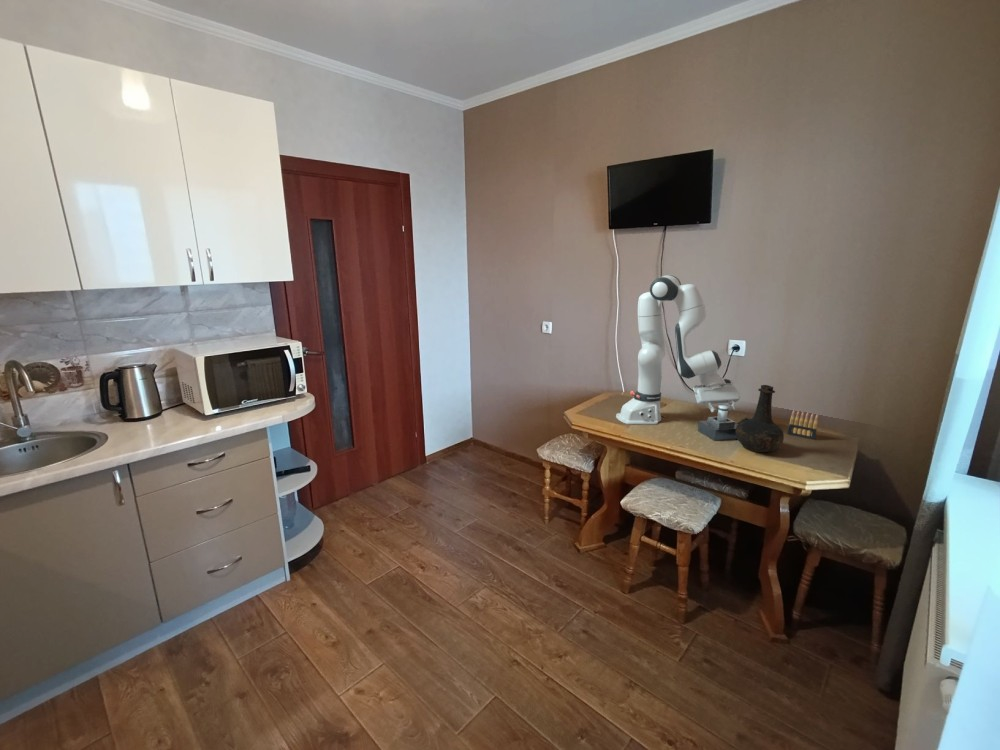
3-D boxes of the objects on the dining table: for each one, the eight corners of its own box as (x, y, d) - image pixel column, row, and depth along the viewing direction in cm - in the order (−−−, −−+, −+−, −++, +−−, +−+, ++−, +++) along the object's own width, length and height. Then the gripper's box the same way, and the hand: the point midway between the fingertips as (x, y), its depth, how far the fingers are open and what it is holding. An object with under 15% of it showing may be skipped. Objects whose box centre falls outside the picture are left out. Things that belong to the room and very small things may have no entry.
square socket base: (714, 440, 195) (716, 425, 193) (697, 430, 207) (699, 416, 205) (742, 438, 198) (744, 422, 196) (724, 428, 209) (726, 414, 207)
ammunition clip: (787, 434, 202) (791, 409, 199) (787, 433, 204) (792, 408, 201) (815, 440, 195) (819, 414, 192) (815, 438, 197) (820, 413, 194)
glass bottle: (742, 436, 200) (750, 377, 193) (787, 448, 187) (797, 385, 180) (726, 447, 188) (735, 385, 181) (773, 461, 175) (784, 394, 168)
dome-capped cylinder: (720, 426, 199) (722, 407, 196) (714, 423, 203) (716, 404, 200) (728, 425, 199) (730, 407, 197) (722, 422, 203) (724, 404, 201)
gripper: (695, 382, 201) (706, 409, 194) (735, 380, 205) (747, 406, 198) (688, 389, 207) (699, 415, 200) (727, 386, 210) (739, 412, 203)
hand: (723, 411), depth 199 cm, fingers open, 8 cm apart
